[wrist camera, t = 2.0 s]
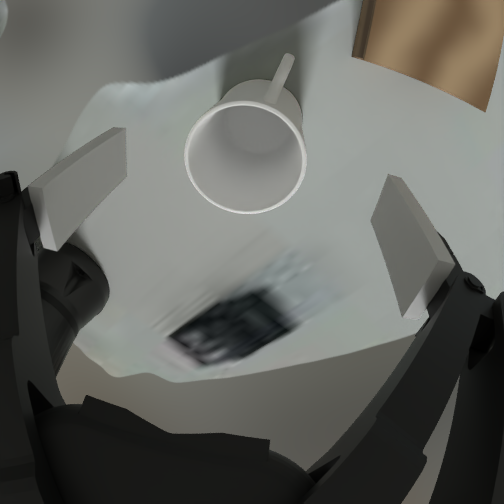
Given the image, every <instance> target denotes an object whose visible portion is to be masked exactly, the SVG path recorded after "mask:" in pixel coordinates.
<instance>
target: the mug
mask: <svg viewBox="0 0 504 504" xmlns="http://www.w3.org/2000/svg"><path fill="white" fill-rule="evenodd" d="M294 59H295V57H294V56H293V55H292V54H289V53H285V54H284V56H283V59H282V61H281V63H280V65H279V67H278V69H277V71H276V73H275V76H274V78H273V80H272V81H269V80H262V79H255V80H248V81H245V82H242V83H239V84H237V85H236V86H234V87H233V88H231V89H230V90H229V91H228V92H227V93H226V94H225V95H224V97H223V98H222V99H221V100H220V101H219V102H218V103H216V104H215V105H214V106H213V107H212V108H210V109H209V110H208V111H207V112H206V113H204V114H203V115H202V116H201V117H200V118H199V119H198V120H197V122H196V123H195V124H194V126H193V127H192V129H191V131H190V132H189V135H188V137H187V140H186V144H185V151H184V160H185V166H186V170H187V173H188V176H189V178H190V180H191V182H192V184H193V185H194V187H195V188H196V189H197V191H198V192H199V193H200V194H201V195H202V196H203V197H204V198H205V199H207V200H208V201H209V202H211V203H212V204H214V205H216V206H217V207H220V208H222V209H224V210H227V211H230V212H235V213H241V214H255V213H262V212H266V211H269V210H272V209H274V208H276V207H278V206H280V205H282V204H283V203H284V202H286V201H287V200H288V199H289V198H290V197H292V195H293V194H294V193H295V192H296V191H297V189H298V188H299V186H300V184H301V183H302V180H303V178H304V175H305V171H306V166H307V153H306V146H305V141H304V136H303V130H302V112H301V109H300V106H299V104H298V102H297V100H296V99H295V97H294V96H293V95H292V94H291V92H289V91H288V90H287V89H286V88H285V87H283V86H284V83H285V81H286V79H287V77H288V74H289V72H290V70H291V67H292V65H293V62H294Z"/></svg>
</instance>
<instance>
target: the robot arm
mask: <svg viewBox="0 0 504 504" xmlns="http://www.w3.org/2000/svg"><path fill="white" fill-rule="evenodd" d="M126 177H127V162H126V128H115V127H113V128H111V129H110V130H108V131H106V132H105V133H103V134H101V135H100V136H98V137H96V138H95V139H93V140H92V141H90V142H89V143H87V144H85V145H84V146H82V147H81V148H79V149H78V150H76V151H75V152H73V153H72V154H70V155H69V156H67V157H66V158H65V159H63V160H62V161H60V162H59V163H58V164H56V165H55V166H53V167H52V168H51V169H49V170H48V171H47V172H45V173H44V174H43V175H41V176H40V177H39V178H37V179H36V180H35V181H34V182H32V183H31V184H30V185H28V187H26V188H25V189H24V190H23V191H22V192H21V188H20V183H19V179H18V174H17V172H16V171H8V172H4V173H1V174H0V504H401V503H402V501H403V500H404V499H405V497H406V496H407V494H408V492H409V491H410V490H411V488H412V486H413V485H414V483H415V482H416V480H417V479H418V477H419V475H420V474H421V472H422V470H423V468H424V466H425V464H426V462H427V457H426V456H425V455H424V454H423V449H424V447H425V445H426V443H427V441H428V440H429V438H430V436H431V434H432V432H433V430H434V429H435V427H436V425H437V423H438V421H439V419H440V417H441V415H442V413H443V411H444V409H445V407H446V404H447V402H448V400H449V398H450V396H451V394H452V391H453V389H454V387H455V384H456V382H457V380H458V377H459V375H460V379H459V387H458V393H457V399H456V405H455V410H454V416H453V421H452V426H451V430H450V434H449V439H448V443H447V447H446V451H445V455H444V458H443V462H442V465H441V469H440V472H439V475H438V478H437V482H436V485H435V488H434V491H433V493H432V496H431V499H430V502H429V504H504V292H501V293H500V295H499V296H498V297H497V299H496V300H494V299H492V298H490V297H488V296H486V290H485V288H484V286H483V284H482V283H481V282H480V281H479V280H478V279H477V278H476V277H475V276H474V275H472V274H470V273H468V272H463V270H462V268H461V266H460V264H459V262H458V261H457V259H456V257H455V255H453V252H452V250H451V249H450V247H449V245H448V243H447V242H446V240H445V239H444V238H443V237H442V236H441V235H440V234H439V233H438V232H437V231H436V229H435V228H434V226H433V225H432V223H431V221H430V220H429V218H428V217H427V215H426V213H425V212H424V210H423V209H422V207H421V206H420V204H419V203H418V201H417V200H416V198H415V197H414V195H413V194H412V192H411V191H410V189H409V188H408V187H407V185H406V184H405V182H404V181H403V180H402V178H400V177H396V176H393V175H389V174H388V176H387V179H386V181H385V184H384V187H383V190H382V192H381V195H380V198H379V200H378V203H377V205H376V208H375V210H374V213H373V216H372V218H371V223H372V226H373V228H374V231H375V234H376V237H377V239H378V242H379V245H380V248H381V251H382V254H383V257H384V260H385V263H386V266H387V269H388V272H389V275H390V278H391V281H392V285H393V288H394V291H395V294H396V298H397V301H398V305H399V308H400V312H401V315H402V318H409V319H417V320H419V318H420V317H421V316H422V314H423V313H424V311H425V310H426V309H427V311H428V314H429V318H428V319H427V320H426V322H425V323H424V324H423V326H422V327H421V328H420V330H419V331H418V332H417V333H416V335H415V336H416V338H415V339H414V341H413V343H412V344H411V346H410V347H409V349H408V350H407V352H406V353H405V355H404V356H403V358H402V359H401V361H400V362H399V364H398V365H397V367H396V368H395V370H394V371H393V372H392V374H391V375H390V377H389V378H388V379H387V381H386V382H385V383H384V385H383V386H382V388H381V389H380V390H379V391H378V393H377V394H376V396H375V397H374V398H373V400H372V401H371V402H370V403H369V404H368V406H367V407H366V408H365V410H364V411H363V412H362V413H361V414H360V416H359V417H358V418H357V419H356V420H355V422H354V423H353V424H352V425H351V426H350V427H349V429H348V430H347V431H346V432H345V433H344V434H343V436H342V437H341V438H340V439H339V440H338V441H337V442H336V443H335V444H334V446H333V447H332V448H331V449H330V450H329V451H328V452H327V453H326V454H325V455H323V456H322V457H321V458H320V459H319V460H318V461H317V462H315V463H314V464H313V465H312V466H311V467H310V468H309V469H308V470H307V471H306V472H305V471H304V470H303V469H302V468H301V467H299V466H298V465H297V464H296V463H294V462H293V461H291V460H290V459H288V458H286V457H285V456H282V455H281V454H279V453H276V452H274V451H271V450H269V445H270V440H267V439H259V438H252V437H245V436H238V435H232V434H226V433H207V434H206V433H205V434H172V433H168V432H166V431H164V430H162V429H160V428H158V427H156V426H155V425H153V424H151V423H149V422H147V421H146V420H144V419H142V418H141V417H139V416H137V415H135V414H134V413H132V412H130V411H129V410H127V409H125V408H122V407H119V406H116V405H113V404H110V403H107V402H105V401H102V400H99V399H96V398H94V397H91V396H88V395H86V396H85V399H84V401H83V404H68V405H66V404H65V402H64V400H63V398H62V396H61V394H60V391H59V388H58V385H57V381H56V376H57V374H58V372H59V370H60V368H61V366H62V364H63V361H64V360H65V357H66V355H67V353H68V351H69V349H70V347H71V345H72V343H73V341H74V340H75V338H76V336H77V334H78V332H79V330H80V329H81V328H83V327H84V326H85V325H86V324H87V323H88V322H89V321H90V320H92V319H93V318H94V317H95V316H96V315H98V314H99V313H100V312H101V311H102V310H103V308H104V306H105V304H106V303H107V301H108V298H109V286H108V283H107V281H106V278H105V276H104V275H103V273H102V271H101V270H100V269H99V267H98V266H97V265H96V264H95V262H94V261H93V260H92V259H91V258H90V257H88V256H87V255H86V254H85V253H84V252H82V251H81V250H79V249H78V248H76V247H74V246H72V245H70V244H68V243H65V242H66V241H67V240H68V238H69V237H70V236H71V235H72V234H73V233H74V231H75V230H76V229H77V228H78V227H79V226H80V225H81V224H82V222H83V221H84V220H85V219H86V218H87V217H88V216H89V215H90V214H91V213H92V212H93V211H94V209H95V208H96V207H97V206H98V205H99V204H100V203H101V202H102V201H103V200H104V199H105V198H106V197H107V196H108V195H109V194H110V193H111V192H112V191H113V190H114V189H115V188H116V187H117V186H118V185H119V184H120V183H121V182H122V181H123V180H124V179H125V178H126ZM39 236H40V237H41V241H42V244H43V246H42V247H41V248H40V249H39V250H38V251H37V247H36V244H35V240H36V239H37V238H38V237H39Z"/></svg>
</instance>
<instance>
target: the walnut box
mask: <svg viewBox="0 0 504 504" xmlns="http://www.w3.org/2000/svg"><path fill="white" fill-rule="evenodd" d="M503 36H504V0H363V4H362V9H361V14H360V19H359V24H358V29H357V34H356V39H355V43H354V48H353V53H352V57H354V58H358V59H361V60H364V61H367V62H371V63H374V64H377V65H380V66H383V67H386V68H388V69H391V70H394V71H397V72H399V73H402V74H405V75H407V76H410V77H412V78H415V79H417V80H420V81H422V82H424V83H427V84H429V85H431V86H434V87H436V88H438V89H440V90H442V91H444V92H447V93H449V94H451V95H453V96H455V97H457V98H459V99H461V100H463V101H465V102H467V103H469V104H471V105H472V106H474V107H476V108H478V109H480V110H482V111H484V112H486V109H487V105H488V102H489V98H490V95H491V91H492V87H493V83H494V80H495V75H496V71H497V67H498V62H499V57H500V53H501V47H502V42H503Z"/></svg>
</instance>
